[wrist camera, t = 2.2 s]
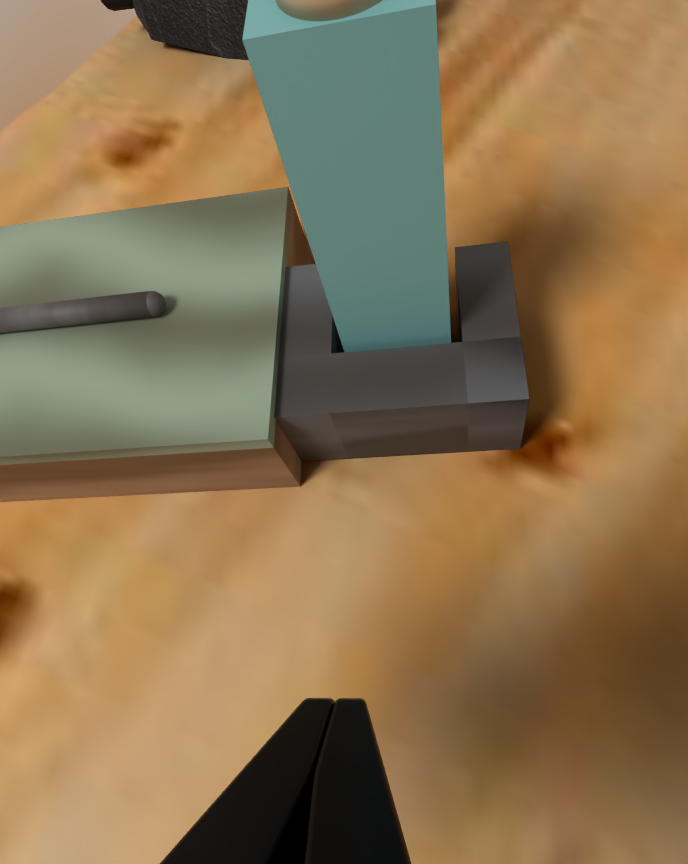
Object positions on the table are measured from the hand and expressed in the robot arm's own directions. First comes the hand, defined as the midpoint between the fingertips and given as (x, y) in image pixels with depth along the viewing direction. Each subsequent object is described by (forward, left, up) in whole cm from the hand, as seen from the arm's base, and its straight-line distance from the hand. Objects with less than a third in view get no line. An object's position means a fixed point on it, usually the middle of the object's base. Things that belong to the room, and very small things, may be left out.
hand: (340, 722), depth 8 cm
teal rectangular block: (+12, -8, -13) cm, 20 cm away
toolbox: (+17, -1, -13) cm, 22 cm away
